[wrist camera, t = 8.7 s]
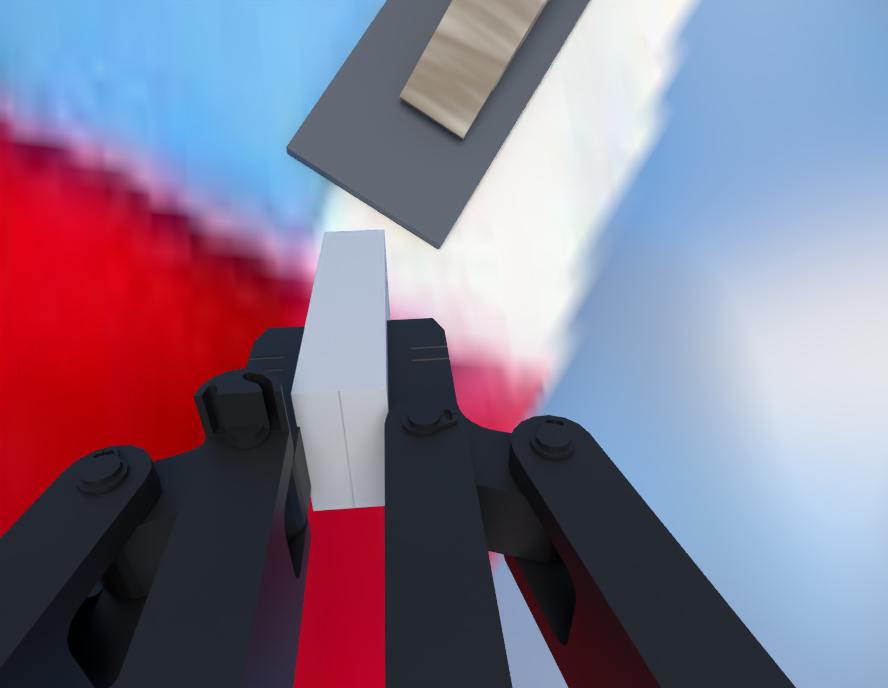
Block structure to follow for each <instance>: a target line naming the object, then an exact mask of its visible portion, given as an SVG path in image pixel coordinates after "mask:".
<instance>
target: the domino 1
mask: <svg viewBox="0 0 888 688" xmlns="http://www.w3.org/2000/svg"><path fill="white" fill-rule="evenodd" d="M544 2H545V0H452V2H451V4H450V6H449V7H448V9H447V11H446V13H445V15H444V16H443V18H442V20H441V22H440V24H439V25H438V27H437V29H436V31H435V33H434V34H433V36H432V38H431V40H430V42H429V43H428V45H427V47H426V49H425V51H424V52H423V54H422V56H421V58H420V60H419V61H418V63H417V65H416V67H415V69H414V71H413V72H412V74H411V76H410V78H409V80H408V81H407V83H406V85H405V87H404V89H403V90H402V92H401V94H400V98H401V100H403V101H404V102H406V103H408V104H409V105H411V106H412V107H414V108H415V109H417V110H418V111H420V112H421V113H423V114H424V115H426V116H427V117H429V118H430V119H432V120H433V121H435V122H436V123H438V124H439V125H441V126H442V127H444V128H445V129H447V130H449V131H450V132H452V133H453V134H455V135H456V136H458V137H459V138H461V139H462V140H463V139H464V137H465V135H466V134H467V132H468V130H469V129H470V127H471V125H472V124H473V122H474V120H475V119H476V117H477V115H478V114H479V112H480V110H481V109H482V107H483V105H484V103H485V102H486V100H487V98H488V97H489V95H490V93H491V92H492V90H493V88H494V87H495V85H496V83H497V82H498V80H499V78H500V77H501V75H502V73H503V71H504V70H505V68H506V66H507V65H508V63H509V61H510V60H511V58H512V56H513V55H514V53H515V51H516V50H517V48H518V46H519V45H520V43H521V41H522V40H523V38H524V36H525V34H526V33H527V31H528V29H529V28H530V26H531V24H532V23H533V21H534V19H535V18H536V16H537V14H538V13H539V11H540V9H541V8H542V6H543V4H544Z"/></svg>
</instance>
